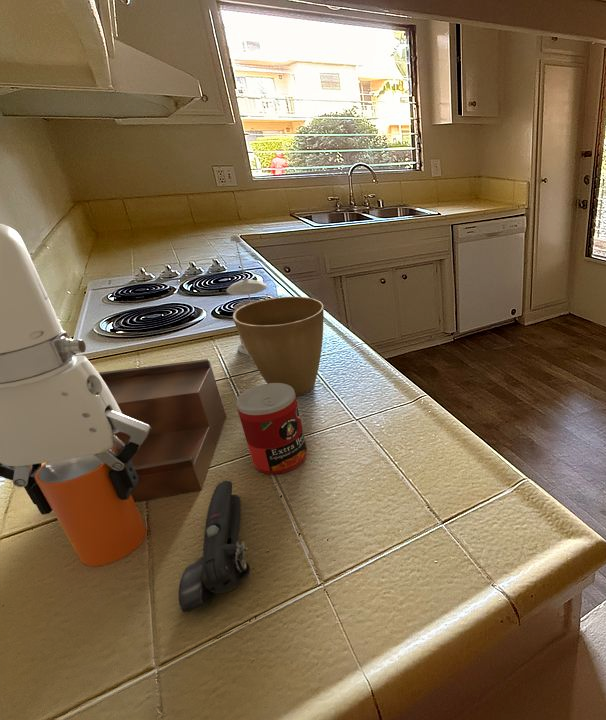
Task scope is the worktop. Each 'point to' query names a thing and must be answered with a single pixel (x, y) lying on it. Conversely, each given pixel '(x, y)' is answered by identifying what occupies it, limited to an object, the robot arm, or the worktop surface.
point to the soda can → (91, 509)
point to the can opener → (216, 553)
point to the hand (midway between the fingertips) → (91, 497)
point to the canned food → (272, 427)
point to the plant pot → (283, 339)
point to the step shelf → (170, 424)
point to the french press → (245, 291)
